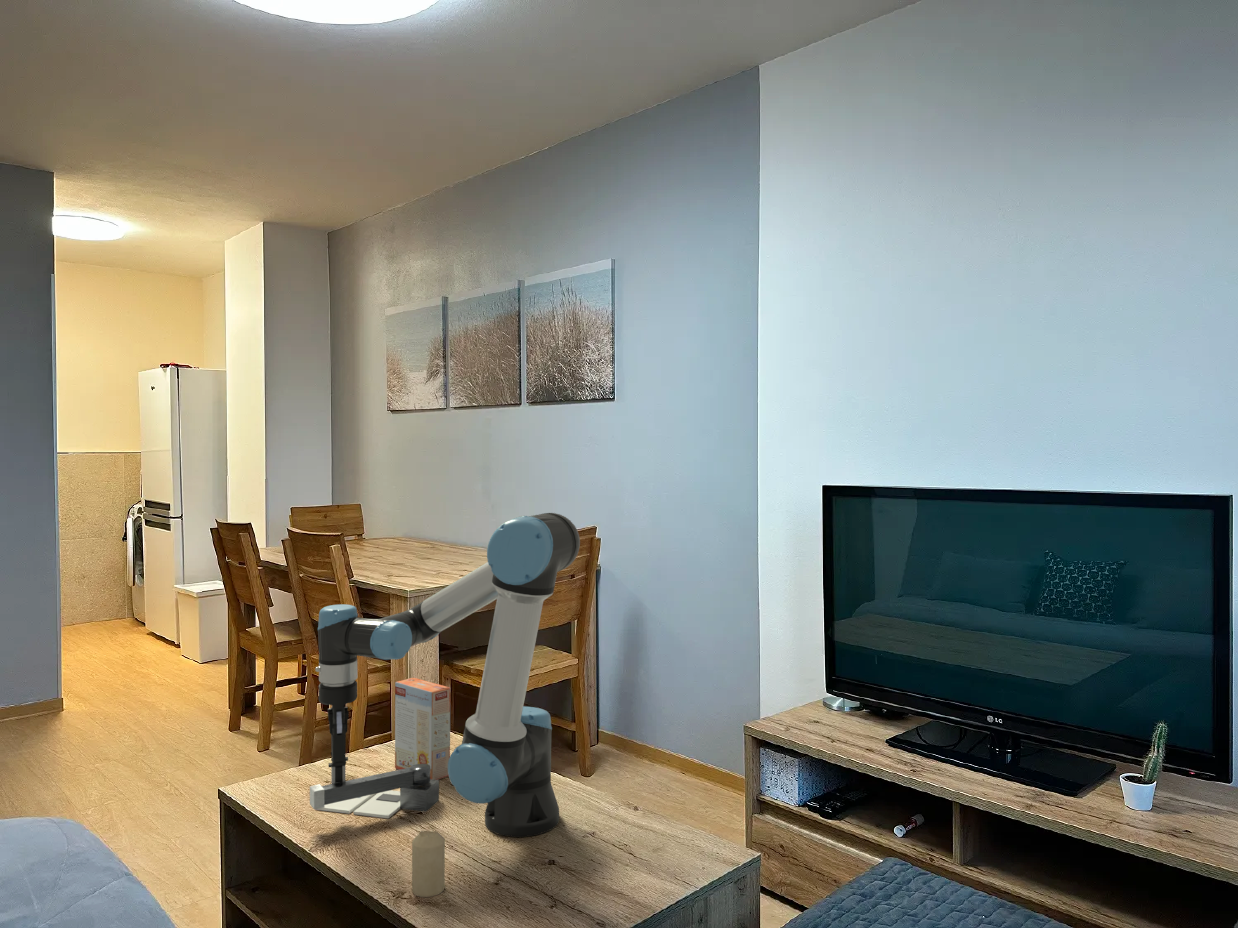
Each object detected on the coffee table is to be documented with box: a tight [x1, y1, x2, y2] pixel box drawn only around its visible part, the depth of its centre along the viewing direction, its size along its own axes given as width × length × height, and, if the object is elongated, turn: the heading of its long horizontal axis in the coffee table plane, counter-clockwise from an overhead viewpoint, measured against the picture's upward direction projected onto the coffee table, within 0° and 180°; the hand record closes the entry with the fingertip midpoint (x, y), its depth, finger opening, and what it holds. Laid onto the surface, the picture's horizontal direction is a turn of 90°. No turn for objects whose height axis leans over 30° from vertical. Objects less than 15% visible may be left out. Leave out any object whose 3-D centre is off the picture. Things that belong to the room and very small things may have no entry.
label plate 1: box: [315, 794, 376, 814], centre depth 189 cm, size 8×12×1 cm, turn 166°
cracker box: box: [394, 677, 451, 780], centre depth 206 cm, size 14×6×21 cm, turn 50°
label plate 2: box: [353, 790, 401, 819], centre depth 187 cm, size 8×12×1 cm, turn 166°
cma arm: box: [309, 764, 430, 810], centre depth 182 cm, size 25×4×4 cm, turn 124°
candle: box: [411, 830, 446, 898], centre depth 152 cm, size 6×6×10 cm
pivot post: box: [399, 779, 440, 813], centre depth 187 cm, size 6×6×4 cm
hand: (338, 795), depth 180 cm, fingers closed
